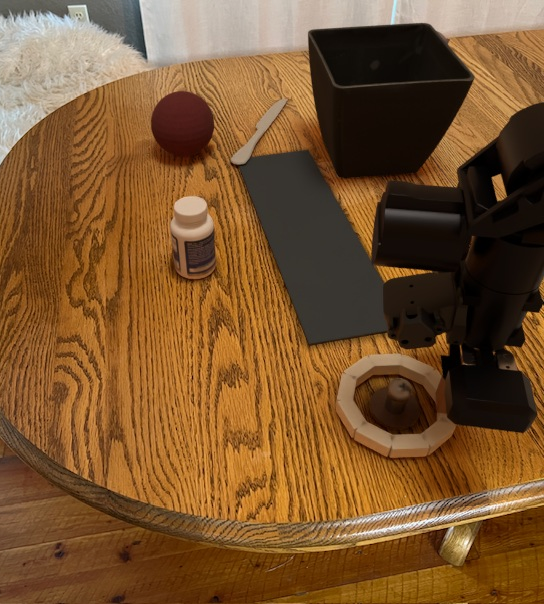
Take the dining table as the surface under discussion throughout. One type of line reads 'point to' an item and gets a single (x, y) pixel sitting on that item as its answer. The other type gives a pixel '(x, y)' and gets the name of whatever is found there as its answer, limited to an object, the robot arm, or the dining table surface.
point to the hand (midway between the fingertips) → (454, 389)
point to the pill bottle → (193, 238)
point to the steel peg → (395, 405)
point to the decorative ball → (182, 124)
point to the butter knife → (258, 133)
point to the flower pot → (384, 95)
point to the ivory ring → (377, 437)
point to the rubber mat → (315, 248)
